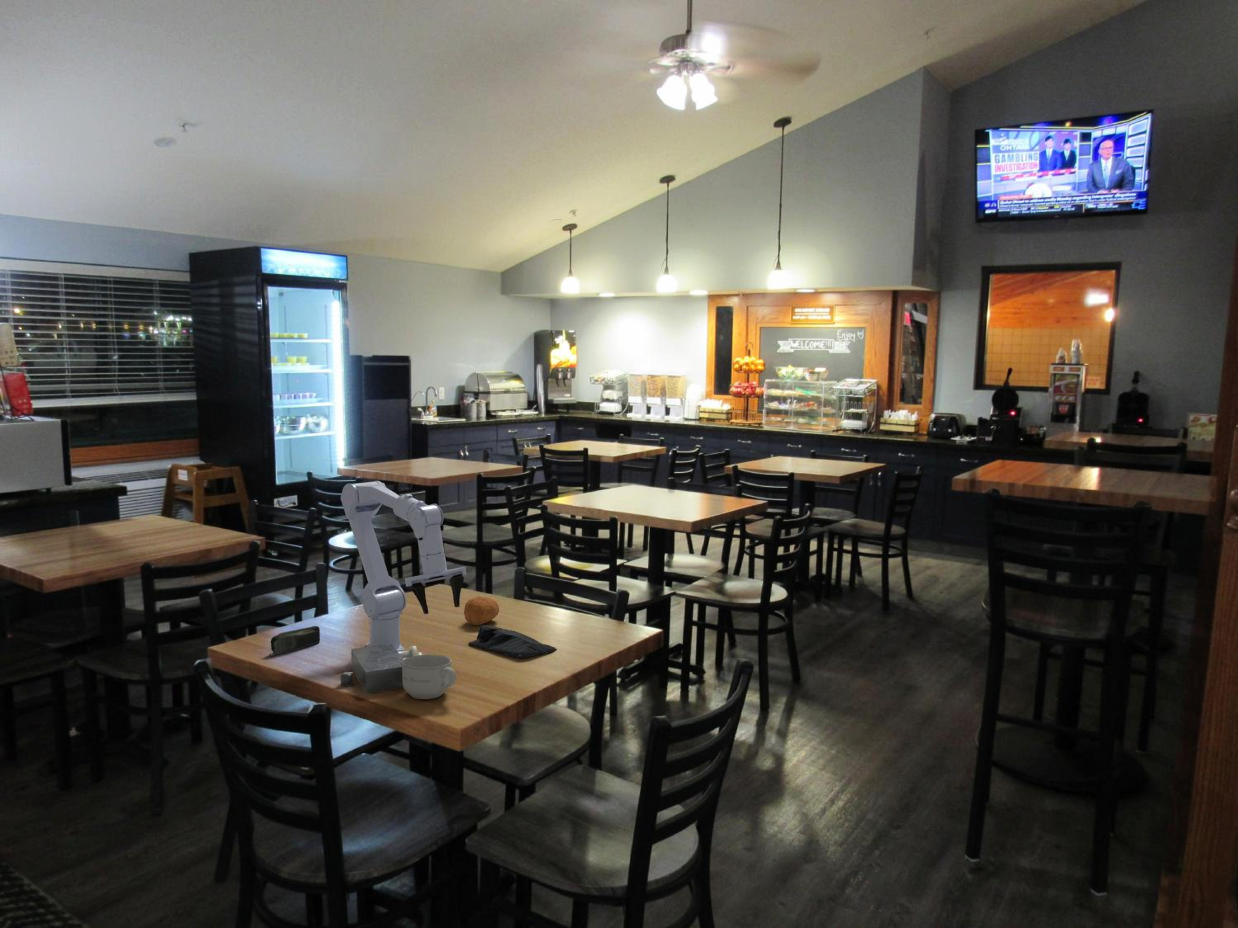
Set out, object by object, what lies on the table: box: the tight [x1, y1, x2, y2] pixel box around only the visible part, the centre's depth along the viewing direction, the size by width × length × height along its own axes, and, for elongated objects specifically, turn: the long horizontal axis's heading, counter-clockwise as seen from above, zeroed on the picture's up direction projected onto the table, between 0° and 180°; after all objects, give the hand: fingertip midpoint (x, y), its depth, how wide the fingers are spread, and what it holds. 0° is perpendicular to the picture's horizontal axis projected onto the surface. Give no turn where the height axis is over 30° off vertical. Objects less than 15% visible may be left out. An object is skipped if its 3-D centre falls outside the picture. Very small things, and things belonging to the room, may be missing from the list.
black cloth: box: [468, 624, 558, 659], centre depth 222 cm, size 15×22×5 cm
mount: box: [350, 644, 404, 694], centre depth 199 cm, size 18×10×5 cm, turn 27°
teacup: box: [402, 654, 457, 700], centre depth 187 cm, size 14×11×8 cm
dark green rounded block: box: [268, 625, 321, 657], centre depth 219 cm, size 5×3×15 cm
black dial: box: [339, 671, 354, 687], centre depth 194 cm, size 3×3×3 cm
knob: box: [398, 645, 418, 658], centre depth 206 cm, size 4×8×4 cm, turn 118°
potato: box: [463, 595, 500, 626], centre depth 244 cm, size 9×11×8 cm
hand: (441, 610), depth 204 cm, fingers open, 7 cm apart
